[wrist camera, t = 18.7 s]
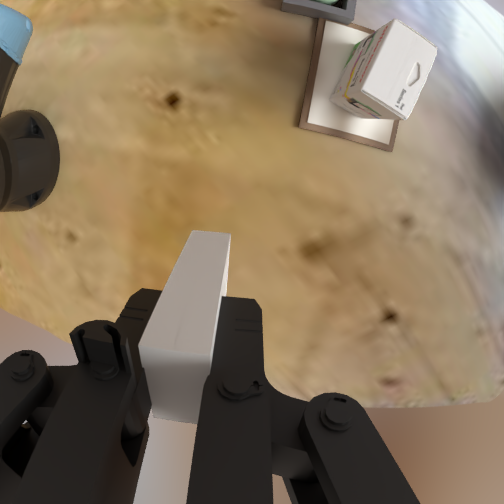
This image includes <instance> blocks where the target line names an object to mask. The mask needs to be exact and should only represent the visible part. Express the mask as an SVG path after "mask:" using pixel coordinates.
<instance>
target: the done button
mask: <svg viewBox="0 0 504 504" xmlns="http://www.w3.org/2000/svg"><path fill="white" fill-rule="evenodd" d="M310 1H314V2H318V3H322V4H326V5H330V6H332V5H334V4H335V3H337V2H338V0H310Z"/></svg>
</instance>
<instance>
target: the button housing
mask: <svg viewBox="0 0 504 504" xmlns="http://www.w3.org/2000/svg"><path fill="white" fill-rule="evenodd" d="M355 7H356V0H342V6H341V9H340V8H337V7H333V6H330V5H326V4H322V3H318V2H314V1H310V0H283V3H282V8H281V11H285V12H290V13H295V14H300V15H304V16H309V17H313V18H317V19H319V17H320V18H324V19H328V20H331V21H335V22H339V23H342V24H345V25H349V24H350V23H351V22H352V21H353V20H354V14H355Z"/></svg>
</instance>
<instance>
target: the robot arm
mask: <svg viewBox="0 0 504 504" xmlns="http://www.w3.org/2000/svg"><path fill="white" fill-rule="evenodd" d="M32 31H33V26H32V22H31V21H30V19H29V18H28V17H26V16H25V15H23V14H21V13H20V12H18V11H16V10H14V9H12V8H9V7H7V6H5V5H3V4H0V117H1V114H2V110H3V107H4V104H5V101H6V98H7V95H8V92H9V89H10V87H11V84H12V81H13V79H14V76H15V74H16V71H17V69H18V67H19V65H21V63H22V57H23V54H24V52H25V49H26V47H27V44H28V42H29V40H30V37H31V35H32ZM59 163H60V153H59V145H58V140H57V137H56V134H55V131H54V129H53V127H52V125H51V124H50V122H49V121H48V120H47V118H46V117H45V116H43V115H42V114H41V113H39V112H37V111H34V110H20V111H15V112H12V113H10V114H8V115H6V116H5V117H3V118H1V119H0V212H9V211H26V210H29V209H31V208H33V207H35V206H37V205H39V204H41V203H42V202H43V201H45V200H46V199H47V197H48V196H49V195H50V193H51V192H52V190H53V188H54V186H55V183H56V180H57V177H58V172H59ZM230 238H231V234H230V233H220V232H209V231H197V230H192V232H191V234H190V236H189V238H188V240H187V242H186V244H185V246H184V248H183V250H182V252H181V254H180V256H179V258H178V260H177V262H176V264H175V266H174V268H173V270H172V272H171V274H170V277H169V279H168V281H167V283H166V285H165V287H164V289H163V291H161V290H153V289H145V288H142V289H140V290H139V291H137V292H136V293H135V294H133V295H132V296H131V297H130V298H129V300H128V302H127V303H126V305H125V308H124V309H123V310H122V312H121V314H120V317H118V319H117V320H116V322H115V323H114V322H111V321H108V320H94V321H89V322H85V323H83V324H81V325H79V326H77V327H76V328H75V329H74V330H73V331H72V332H71V333H70V334H69V335H70V338H71V341H72V344H73V347H74V350H75V352H76V356H77V358H78V361H79V362H78V364H77V365H72V366H47V363H46V361H45V359H44V358H43V357H42V356H41V355H40V354H39V353H38V352H35V351H32V350H22V351H19V352H15V353H14V354H12V355H11V356H9V357H8V358H6V359H5V360H4V361H3V362H2V363H1V364H0V504H133V501H134V497H135V492H136V487H137V482H138V479H139V474H140V470H141V466H142V462H143V457H144V453H145V449H146V445H147V441H148V437H149V426H148V422H147V420H148V417H149V413H150V409H152V413H153V416H154V417H155V418H160V419H166V420H172V421H178V422H185V423H192V424H197V432H196V437H195V444H194V451H193V458H192V465H191V472H190V479H189V487H188V495H187V503H186V504H273V485H272V484H273V482H272V474H275V475H279V476H282V478H283V480H284V483H285V486H286V489H287V492H288V494H289V497H290V500H291V502H292V504H420V502H419V501H418V499H417V497H416V495H415V494H414V492H413V490H412V489H411V487H410V485H409V484H408V482H407V480H406V478H405V477H404V475H403V473H402V472H401V470H400V468H399V467H398V465H397V463H396V462H395V460H394V458H393V456H392V455H391V453H390V451H389V450H388V448H387V446H386V445H385V443H384V441H383V440H382V438H381V436H380V435H379V433H378V431H377V430H376V428H375V426H374V425H373V423H372V421H371V420H370V418H369V416H368V415H367V413H366V411H365V410H364V408H363V407H362V406H361V405H360V404H359V403H358V402H357V401H356V400H354V399H353V398H351V397H349V396H347V395H344V394H340V393H323V394H321V395H318V396H316V397H314V398H313V399H312V400H311V401H310V402H307V401H303V400H300V399H296V398H293V397H290V396H287V395H284V394H282V393H280V392H279V391H277V390H276V389H274V387H273V386H272V385H271V384H270V383H269V382H268V380H267V378H266V377H265V372H264V353H263V333H262V332H263V327H262V309H261V308H260V306H259V305H258V303H257V302H256V300H255V299H248V298H237V297H227V296H226V292H227V278H228V264H229V251H230ZM25 420H27V421H28V422H27V423H25V424H23V423H24V421H25Z"/></svg>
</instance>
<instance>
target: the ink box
mask: <svg viewBox="0 0 504 504" xmlns="http://www.w3.org/2000/svg"><path fill="white" fill-rule="evenodd" d="M436 55H437V47H436V46H435V45H434V44H433V43H431V42H430V41H429V40H427V39H426V38H425V37H423V36H422V35H421V34H419V33H418V32H416V31H415V30H413V29H412V28H411V27H409V26H407V25H406V24H404V23H403V22H401V21H399V20H397V19H393V20H392V21H390V22H389V23H387V24H385V25H384V26H382V27H381V28H379V29H378V30H377V31H375V32H373V33H372V34H370V35H369V36H367V37H366V38H364V39H363V40H361V41H360V42H358V43H357V44H355V46H354V48H353V50H352V52H351V54H350V56H349V58H348V61H347V63H346V65H345V67H344V69H343V71H342V73H341V75H340V77H339V79H338V81H337V83H336V85H335V87H334V89H333V91H332V94H331V96H330V98H329V100H330V101H331V102H333V103H334V104H336V105H338V106H340V107H341V108H343V109H345V110H347V111H349V112H350V113H352V114H354V115H356V116H357V117H359V118H361V119H388V120H407V119H408V117H409V115H410V114H411V112H412V110H413V107H414V105H415V104H416V102H417V99H418V97H419V94H420V92H421V90H422V88H423V86H424V84H425V82H426V79H427V76H428V73H429V71H430V70H431V68H432V65H433V62H434V59H435V57H436Z"/></svg>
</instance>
